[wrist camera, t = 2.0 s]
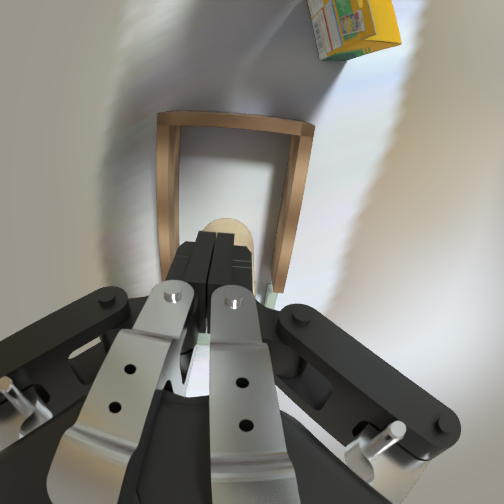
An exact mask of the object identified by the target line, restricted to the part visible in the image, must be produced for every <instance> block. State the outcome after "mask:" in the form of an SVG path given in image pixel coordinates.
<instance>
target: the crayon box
mask: <svg viewBox="0 0 504 504" xmlns="http://www.w3.org/2000/svg"><path fill="white" fill-rule="evenodd" d="M307 3H308V7H309V11H310V15H311V19H312V24H313V29H314V34H315V39H316V43H317V48H318V53H319V59H320V60H350V59H353V58H356V57H359V56H362V55H365V54H369V53H372V52H375V51H379V50H383V49H386V48H390V47H395V46H398V45H401V38H400V33H399V29H398V25H397V20H396V16H395V12H394V8H393V5H392V1H391V0H307Z"/></svg>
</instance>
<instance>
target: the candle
mask: <svg viewBox="0 0 504 504" xmlns="http://www.w3.org/2000/svg"><path fill="white" fill-rule="evenodd" d="M203 231H208V232H216V238H217V233H218V232H221V233H233V234H235V237H234V245H238V246H247V248H248V249H249V250H250V252H251V253H252V281H253V294H254V296H255V275H254V250H253V239H252V235H251V233H250V231H249V230H248V228H247V227H246V226H245V225H244V224H242V223H241V222H239V221H237V220H234V219H229V218H223V219H218V220H215V221H213V222H211V223H210V224H208V225H207V226H206V227H205V229H204V230H203Z"/></svg>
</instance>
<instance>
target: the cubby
mask: <svg viewBox="0 0 504 504" xmlns="http://www.w3.org/2000/svg"><path fill="white" fill-rule="evenodd" d="M181 126H210V127H226V128H239V129H250V130H260V131H269V132H277V133H285V134H292V137H291V144H290V150H289V157H288V164H287V171H286V177H285V184H284V190H283V196H282V203H281V209H280V215H279V221H278V227H277V233H276V239H275V245H274V251H273V257H272V263H271V269H270V270H271V279H272V287H273V293H283V292H284V287H285V283H286V278H287V274H288V269H289V264H290V259H291V255H292V250H293V245H294V240H295V235H296V230H297V225H298V220H299V215H300V210H301V205H302V199H303V194H304V188H305V183H306V177H307V172H308V166H309V160H310V154H311V148H312V142H313V136H314V130H315V125H312V124H310V123H307V122H305V121H299V120H292V119H285V118H278V117H270V116H262V115H252V114H241V113H228V112H211V111H166V112H161V113H158V114H157V143H156V187H157V217H158V235H159V250H160V262H161V273H162V282H164V281H165V279H166V276H167V274H168V271H169V269H170V266H171V264H172V262H173V259H174V256H175V254H176V251H177V249H178V247H179V154H180V131H181Z"/></svg>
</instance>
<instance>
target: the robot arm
mask: <svg viewBox="0 0 504 504" xmlns="http://www.w3.org/2000/svg"><path fill="white" fill-rule="evenodd" d="M234 237H235V234H233V233H221V232H218V233H217V238H216V232H208V231H199V232H198V235H197V238H196V241H195V242H188V241H186V242H184V243H183V244H182V245H180V246H179V247H178V249H177V251H176V254H175V256H174V259H173V262H172V264H171V266H170V269H169V271H168V274H167V276H166V279H165V281H164V282H161V283H159V284H157V285H156V286H155V287H154V288H153V290H152V292H151V293H150V295H149V296H146V297H140V298H131V299H128V297H127V294H126V292H125V291H124V290H123V289H121V288H118V287H114V286H109V287H103V288H100V289H98V290H96V291H94V292H92V293H90V294H88V295H86V296H84V297H82V298H81V299H78V300H76V301H74V302H72V303H71V304H69V305H67V306H65V307H63V308H61V309H59V310H57V311H55V312H53V313H51V314H49V315H48V316H46V317H44V318H42V319H40V320H38V321H36V322H35V323H33V324H31V325H29V326H27V327H25V328H24V329H22V330H20V331H18V332H16V333H15V334H13V335H11V336H9V337H7V338H6V339H4V340H2V341H0V504H401V503H402V501H403V500H404V499H405V497H406V496H407V495H408V493H409V492H410V491H411V489H412V488H413V486H414V485H415V483H416V482H417V480H418V479H419V477H420V476H421V474H422V472H423V471H424V470H425V468H426V466H427V465H428V463H429V462H430V460H432V459H433V458H435V457H436V456H438V455H439V454H441V453H442V452H444V451H445V450H447V449H448V448H450V447H451V446H453V445H454V444H455V443H456V442H457V441H458V439H459V437H460V434H461V425H460V421H459V419H458V417H457V415H456V414H455V413H454V412H453V411H452V410H451V409H450V408H448V407H447V406H445V405H444V404H443V403H441V402H440V401H439V400H437V399H436V398H434V397H433V396H432V395H430V394H429V393H428V392H426V391H425V390H423V389H422V388H421V387H419V386H418V385H417V384H415V383H414V382H412V381H411V380H409V379H408V378H407V377H406V376H404V375H403V374H401V373H400V372H399V371H398V370H396V369H395V368H393V367H392V366H391V365H389V364H388V363H387V362H385V361H384V360H383V359H381V358H380V357H379V356H377V355H376V354H374V353H373V352H372V351H370V350H369V349H368V348H366V347H365V346H364V345H362V344H361V343H360V342H358V341H357V340H355V339H354V338H353V337H352V336H350V335H349V334H347V333H346V332H345V331H343V330H342V329H341V328H340V327H338V326H336V325H335V324H334V323H333V322H331V321H330V320H329V319H327V318H326V317H325V316H323V315H322V314H321V313H319V312H318V311H317V310H315V309H314V308H312V307H310V306H307V305H304V304H290V305H287V306H285V307H284V308H283V309H282V310H281V311H276V310H273V309H270V308H267V307H265V306H263V305H262V304H260V303H259V302H258V301H257V300H256V299H255V296H254V294H253V281H252V253H251V252H250V250H249V249H248V248H247V246H238V245H234ZM206 327H207V334H210V369H209V395H208V396H200V397H190V398H188V397H186V389H187V385H188V381H189V377H190V373H191V369H192V365H193V361H194V357H195V353H196V344H197V341H198V335H199V333H205V334H206ZM97 337H100V340H101V342H100V343H98V344H96V345H95V346H93V347H91V348H90V349H88V350H86V351H84V352H83V353H81V354H80V355H78V356H76V357H74V358H72V359H68V357H69V355H70V354H71V353H72V352H73V351H75V350H76V349H78V348H80V347H82V346H83V345H85V344H87V343H88V342H90V341H92V340H93V339H95V338H97ZM275 385H276V386H277V387H278V388H280V389H281V390H282V391H283V392H284V393H285V394H286V395H287V396H288V397H289V398H290V399H291V400H292V401H293V402H294V403H295V404H297V405H298V406H299V407H300V408H301V409H302V410H303V411H304V412H305V413H306V414H308V415H309V416H310V417H311V418H312V419H313V420H314V421H315V422H316V423H318V424H319V425H320V426H321V427H322V428H323V429H325V430H326V431H327V432H328V433H329V434H330V435H332V436H333V437H334V438H335V439H336V440H337V441H339V442H340V443H341V444H342V445H344V446H345V447H346V449H345V461H346V463H347V465H348V466H347V465H345V464H344V463H343V462H342V461H341V460H340V459H339V458H337V457H336V456H335V455H334V454H333V453H332V452H331V451H330V450H329V449H328V448H326V447H325V446H324V445H323V444H322V443H321V442H320V441H319V440H318V439H317V438H316V437H314V435H313V434H312V433H311V432H310V431H309V430H307V429H306V428H305V427H304V426H303V425H302V424H301V423H300V422H299V421H297V420H296V419H295V418H294V417H292V416H290V415H289V414H287V413H285V412H283V411H281V410H279V404H278V398H277V393H276V387H275Z"/></svg>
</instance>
